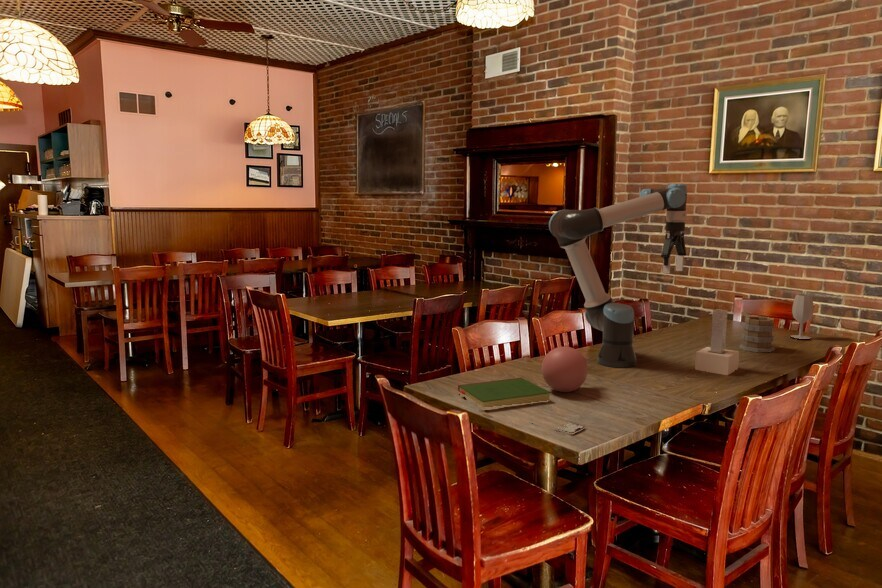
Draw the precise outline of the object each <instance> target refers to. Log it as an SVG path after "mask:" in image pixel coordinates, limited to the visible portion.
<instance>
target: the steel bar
mask: <svg viewBox="0 0 882 588" xmlns="http://www.w3.org/2000/svg"><path fill="white" fill-rule="evenodd" d="M728 311H729V310H727V309H722V308H716V309H713V310H712V321H711V335H710V336H711V339H710V347H711V350H710V352H711V353H718V354H725V349H726V343H727V342H726V339H727V327H728V326H727V325H728V323H727V321H728V313H729V312H728Z"/></svg>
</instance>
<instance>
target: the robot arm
mask: <svg viewBox="0 0 882 588" xmlns="http://www.w3.org/2000/svg"><path fill="white" fill-rule="evenodd" d="M687 197H688V187H687V185H686V184H685V183H671V184H668V185H667V188H666V187H664V188H643V189H642V190H641V191H640V193H639V197H636V198H635V197H634V198H632V199H629V200H625V201H621V202H619V203H616V204H615V203H614V204H612V205H609V206H605V207H602V208H597V207H593V208H588V209H566V208H564V209H562V210H561V209H560V210H558V211H555V212H554V213H553V214H552V216H551V217H550V219H549V220H548V229H549V231H550V233H551V235H552V236H553V237H554V238H556V241H557V243H558V246H559V248H561V249H564V250H565V253H566V254H567V258H568V260H569V262H570V266H571V268H572V270H573V273H574V274H575V275H574V276H575V277H576V280H577V282H578V285H579V287H580V290H581V292H582V294H583V297H584V299H585V302H584V304H583V307H584V309H585V311H584V316H585V320H586V321H587V323H588V325H590V326H591V327H592V329H593V328H594V329H596V330H598V331H601V332H602V344H601V346H600V349H599V352H598V354H597V358H596V359H597V360H596V361H597V363H598V364H599V365H603V366H605V367H609V368H610V367H613V368H632V367H635V366H637V356H636V355H637V354H636V352H635V350H634V349H635V348H634V346H633V345H634V344H633V342H634V326H635V325H634V321H635V311H634V308H633V307H632V306H631V305H628V304H625V303H622V302H621V303H619V302H614V301H613V298H612V295H611V294H609V293H606V290H605V288H604V286H603V283H602V281H601V279H600V276H599V273H598V271H597V269H596V265H595V263H594V261H593V258H592V256H591V253H590V251H589V249H588V248H589V247H588V245H587V243H586V240H587V237H589V236H591V235H595V234H597V233H600V232H603V230H604V228H608V227H612V226H614V225H618V224H621V223H624V222H628V221H631V220H634V219H639V218H642V217H645V216H647V215H651V214H654V213H657V212H661V211H664V210H665V211H666V216H665V220H666V221H667V222H665V231H667V232H669V233H665V235H664V236H665V238H664V243H663V246H662V251H661V254H660V258H663V259H662V260H663V261H662V264H663V265H662V274H671V259H672V258H671V255H672V252H673V249H674V247H675V249H676V254H677V255H676V262H675V271H678V272H684V256H687V249H686V242H685V232H684V231H685V229H686V222H684V221H686V217H687V213H686V212H687V211H686V210H687V201H688V200H687Z"/></svg>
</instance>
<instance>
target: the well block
mask: <svg viewBox="0 0 882 588" xmlns="http://www.w3.org/2000/svg"><path fill="white" fill-rule="evenodd" d="M710 350H711V346H706V347H703V348H702V349H699V350H698V351H695V362H694V363H695V364H694V370H695V371H700V372H705V371H706V373H712V374H718V375H723V376H729V375H731V374H732V373H734V372H736V371H737V370H738V369H739V359H740V351H738V350H732V349H726V348H725V354H718V353H711V352H710ZM735 370H736V371H735Z"/></svg>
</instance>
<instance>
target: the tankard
mask: <svg viewBox="0 0 882 588" xmlns="http://www.w3.org/2000/svg"><path fill="white" fill-rule="evenodd" d="M741 316H742V318H743V317H744V322H743V323H742V334H741V339H742V341H743V342H742V343H740V344H739V347H740V348H739V349H741V348H742V349H741V350H743V349H744V350H743V351H745V350H747V351H746V352H749V351H753V352H752V353H755V352H770V353H773V352H774V351H775V346H773V345H772V343H773V342H774V335H773V331H775V324H774V319H773V318H770V317H767V316H758V315H757V316H754V315H753V316H752V315H751V316H750V315H749V312H748V311H743V312H742V313H741ZM772 351H773V352H772Z"/></svg>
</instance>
